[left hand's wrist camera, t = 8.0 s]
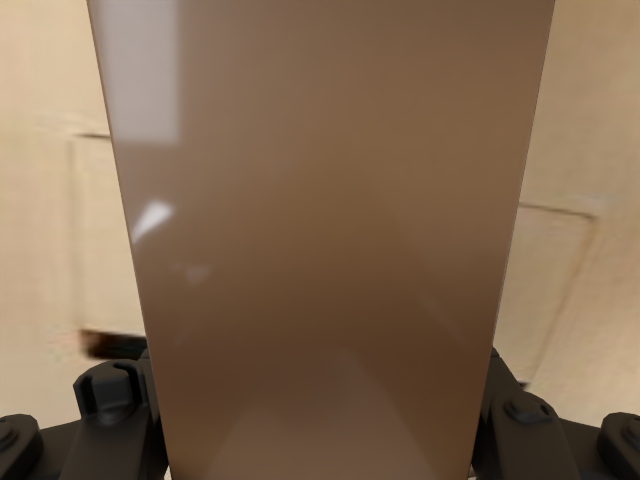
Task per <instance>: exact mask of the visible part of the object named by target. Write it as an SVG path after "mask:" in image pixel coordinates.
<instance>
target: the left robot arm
mask: <svg viewBox="0 0 640 480" xmlns="http://www.w3.org/2000/svg"><path fill="white" fill-rule="evenodd" d="M73 388H74V392H75V395H76V399H77V403H78V406H79V410H80V414H81V419H80V420H77V421H74V422H71V423H67V424H62V425H58V426H54V427H49V428H45V429H41V430H40V429H39V426H38V423H37V420H36V419H34V418H33V417H32V416H31V415H24V414H15V415H9V416H4V417H1V418H0V480H164V475H165V473H166V470H167V468H168V465H169V462H168V456H167V451H166V445H165V439H164V434H163V428H162V422H161V417H160V411H159V406H158V400H157V394H156V389H155V383H154V377H153V372H152V366H151V361H150V355H149V349H148V346H147V349H145V350H144V352H143V353H142V355H141V358H140V359H138V361H134V360H130V359H115V360H111V361H107V362H103V363H101V364H99V365H96V366H94V367H92V368H90V369H88V370H87V371H86V372H84V373H83V374H82V375H80V376H79V377H78V379H77V380H76V381H75V383H74V384H73ZM471 464H472V467H473V469H474V472H475V474H476V480H640V416H638V415H635V414H630V413H623V412H618V413H611V414H609V415H607V416H606V417H605V418H604V419H603V422H602V425H601V428H598V427H593V426H589V425H585V424H580V423H576V422H572V421H568V420H565V419H562V418H559V417H558V415H557V414H556V412H555V411H554V409H553V408H552V407H551V406H550V405H549V404H548V403H547V402H545V401H544V400H543V399H541V398H539V397H537V396H535V395H533V394H532V393H529V392H525V391H523V389H522V388H521V386H520V385H519V383H518V382H517V380H516V379H515V377H514V376H513V374H512V373H511V371H510V370H509V368H508V367H507V366H506V364H505V363H504V361H503V360H502V358H500V357H499V354H498V352H497V351H496V349H495V348H493V345H492V350H491V356H490V361H489V367H488V372H487V378H486V383H485V389H484V394H483V400H482V405H481V411H480V416H479V422H478V427H477V433H476V438H475V444H474V449H473V455H472V460H471Z"/></svg>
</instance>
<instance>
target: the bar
mask: <svg viewBox="0 0 640 480" xmlns="http://www.w3.org/2000/svg"><path fill="white" fill-rule="evenodd" d="M86 1H87V6H88V12H89V18H90V23H91V29H92V34H93V40H94V46H95V51H96V57H97V63H98V68H99V74H100V79H101V85H102V91H103V96H104V102H105V108H106V113H107V119H108V124H109V130H110V136H111V141H112V147H113V153H114V158H115V164H116V169H117V175H118V181H119V186H120V192H121V197H122V203H123V209H124V214H125V220H126V226H127V231H128V237H129V242H130V248H131V254H132V259H133V265H134V271H135V276H136V282H137V287H138V293H139V299H140V304H141V310H142V316H143V321H144V327H145V332H146V338H147V344H148V349H149V355H150V361H151V366H152V372H153V377H154V383H155V389H156V394H157V400H158V406H159V411H160V417H161V422H162V428H163V434H164V439H165V445H166V451H167V456H168V462H169V467H170V473H171V479H172V480H468V477H469V471H470V466H471V460H472V455H473V449H474V444H475V438H476V433H477V427H478V422H479V416H480V411H481V405H482V400H483V394H484V389H485V383H486V378H487V372H488V367H489V361H490V356H491V350H492V345H493V339H494V334H495V328H496V323H497V317H498V312H499V306H500V301H501V295H502V290H503V284H504V279H505V273H506V268H507V262H508V257H509V251H510V246H511V240H512V235H513V229H514V224H515V218H516V213H517V207H518V202H519V196H520V191H521V185H522V180H523V174H524V169H525V163H526V158H527V152H528V147H529V141H530V136H531V130H532V125H533V119H534V114H535V108H536V103H537V97H538V92H539V86H540V81H541V75H542V70H543V64H544V59H545V53H546V48H547V42H548V37H549V31H550V26H551V20H552V15H553V9H554V4H555V0H86Z"/></svg>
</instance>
